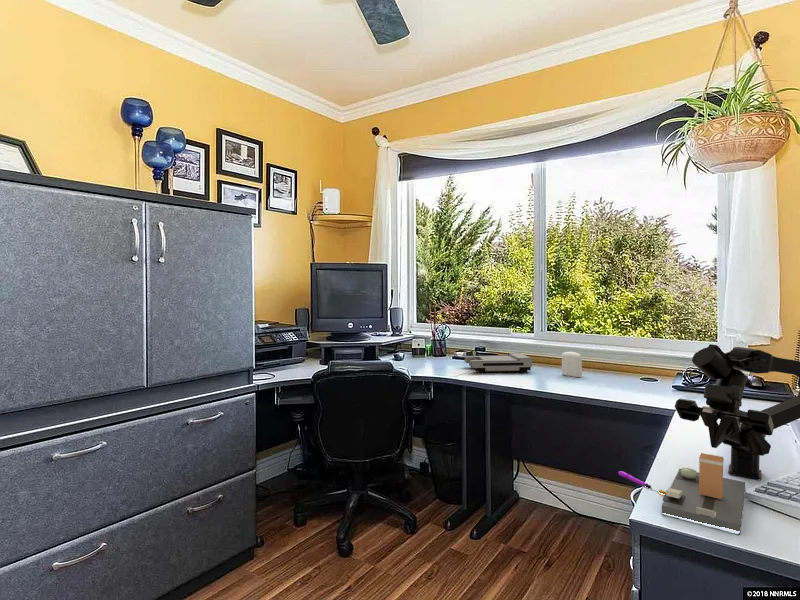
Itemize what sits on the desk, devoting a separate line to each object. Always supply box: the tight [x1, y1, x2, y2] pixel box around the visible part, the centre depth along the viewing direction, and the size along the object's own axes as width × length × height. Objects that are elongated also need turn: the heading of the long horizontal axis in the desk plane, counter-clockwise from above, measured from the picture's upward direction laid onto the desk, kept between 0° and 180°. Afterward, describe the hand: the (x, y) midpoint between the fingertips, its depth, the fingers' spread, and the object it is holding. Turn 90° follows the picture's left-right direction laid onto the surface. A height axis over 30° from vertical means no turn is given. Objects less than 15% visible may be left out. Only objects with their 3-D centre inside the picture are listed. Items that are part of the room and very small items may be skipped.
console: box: [661, 468, 746, 532], centre depth 102 cm, size 24×13×3 cm, turn 142°
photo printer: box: [561, 351, 583, 378], centre depth 241 cm, size 10×4×12 cm, turn 39°
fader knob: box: [698, 452, 725, 499], centre depth 100 cm, size 3×4×8 cm
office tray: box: [464, 352, 533, 374], centre depth 258 cm, size 21×32×8 cm, turn 93°
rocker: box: [665, 487, 682, 498], centre depth 99 cm, size 4×2×1 cm, turn 142°
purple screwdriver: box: [617, 470, 666, 494], centre depth 110 cm, size 3×1×16 cm
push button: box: [680, 467, 697, 479], centre depth 109 cm, size 3×3×1 cm
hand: (713, 446), depth 107 cm, fingers closed
